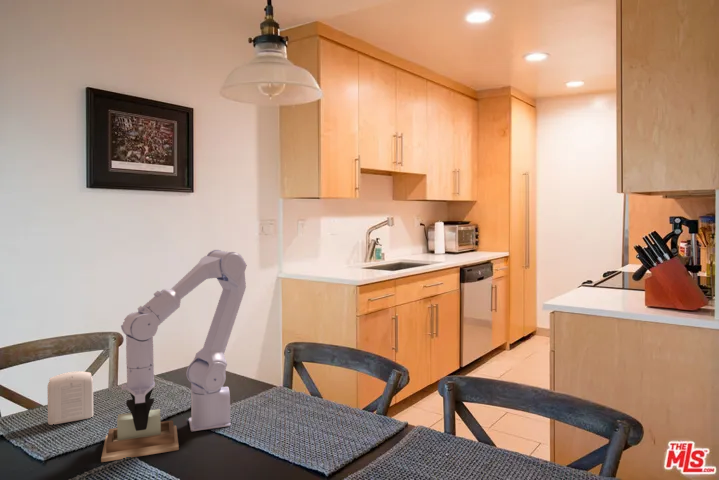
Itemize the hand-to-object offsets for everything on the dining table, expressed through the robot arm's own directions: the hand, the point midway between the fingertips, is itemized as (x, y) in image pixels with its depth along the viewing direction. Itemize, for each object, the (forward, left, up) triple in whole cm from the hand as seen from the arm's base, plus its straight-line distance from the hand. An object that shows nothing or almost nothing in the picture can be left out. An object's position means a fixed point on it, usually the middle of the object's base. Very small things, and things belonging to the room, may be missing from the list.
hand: (141, 423), depth 118 cm
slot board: (0, 0, -5) cm, 5 cm away
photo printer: (+17, -21, -5) cm, 28 cm away
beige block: (0, 0, -4) cm, 4 cm away
